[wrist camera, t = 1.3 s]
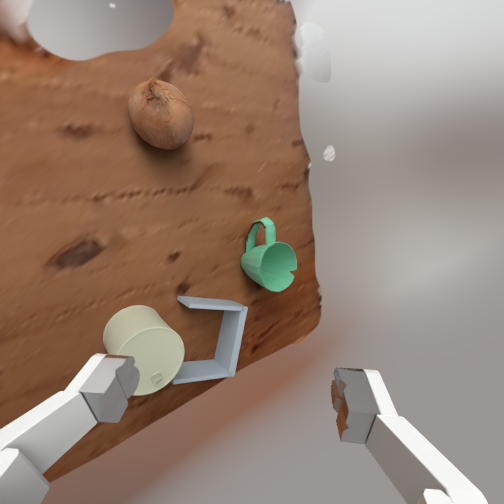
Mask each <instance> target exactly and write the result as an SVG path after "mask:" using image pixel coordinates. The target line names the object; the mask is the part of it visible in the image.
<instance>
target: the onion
mask: <svg viewBox="0 0 504 504" xmlns="http://www.w3.org/2000/svg"><path fill="white" fill-rule="evenodd" d="M149 79H150V78H149ZM128 112H129V117H130V120H131V123H132V125H133V127H134V129H135V130H136V132H137V133H138V134H139V135H140V137H141V138H143V139H144V140H145V141H146V142H148V143H149V144H151V145H153V146H155V147H158V148H162V149H176V148H178V146H180V145H183V144H184V143H185V142H186V141H187V140H188V138H189V137H190V135H191V133H192V130H193V124H194V118H193V113H192V110H191V106H190V105H189V103H188V101H187V99H186V98H185V97H184V95H183V94H182V93H181V92H180V91H179V90H178V89H177V88H176V87H174V86H173V85H171V84H169V83H166V82H164V81H160V80H154V78H151V79H150V80H149V81H146V82H143V83H141V84H139V85H138V86H137V87H136V88H135V89H134V90H133V92H132V94H131V96H130V99H129V104H128Z"/></svg>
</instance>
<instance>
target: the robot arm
mask: <svg viewBox="0 0 504 504" xmlns="http://www.w3.org/2000/svg"><path fill="white" fill-rule="evenodd" d="M135 362H136V361H135V359H134V357H133V356H124V355H111V354H98V353H96V354H95V355H93V356H92V357H91V358H90V359H89V361H88V362H87V363H86V364H85V366H84V367H83V368H82V369H81V371H80V372H79V373H78V374H77V376H76V377H75V378H74V379H73V380H72V382H71V383H70V384H69V385H68V387H67V388H66V389H65V390H64V391H60V392H58V393H57V394H55V395H53V396H52V397H50V398H49V399H47V400H46V401H44V402H42V403H41V404H39V405H38V406H36V407H35V408H33V409H32V410H30V411H28V412H27V413H25V414H24V415H22V416H21V417H19V418H18V419H16V420H14V421H13V422H11V423H10V424H8V425H7V426H5V427H4V428H2V429H0V504H40V503H41V501H42V500H43V498H44V496H45V495H46V493H47V492H48V490H49V488H50V483H49V482H48V481H47V480H46V479H45V478H44V477H43V475H42V474H43V473H44V472H45V471H46V470H47V469H48V468H49V467H50V466H52V465H53V464H54V463H55V462H56V461H57V460H58V459H59V458H60V457H61V456H62V455H63V454H65V453H66V452H67V451H68V450H69V449H70V448H71V447H72V446H73V445H74V444H75V443H76V442H77V441H79V440H80V439H81V438H82V437H83V436H84V435H85V434H86V433H87V432H88V431H89V430H90V429H91V428H93V427H94V426H95V425H96V424H97V422H114V423H119V421H120V419H121V417H122V415H123V413H124V412H125V410H126V408H127V406H128V400H127V399H128V398H129V397H130V396H132V395H133V394H134V393H135V391H136V389H137V387H138V383H139V379H140V373H139V370H138V368H136V367H135V366H134V364H135ZM334 377H335V380H333V381H332V385H331V397H332V403H333V408H334V409H335V410H336V412H337V413H338V415H337V420H336V422H337V427H338V432H339V436H340V441H342V442H350V443H359V444H366V445H365V446H366V447H367V449H368V450H369V452H370V453H371V454H372V456H373V457H374V458H375V460H376V461H377V463H378V464H379V465H380V466H381V468H382V470H383V471H384V472H385V474H386V475H387V476H388V478H389V479H390V481H391V482H392V483H393V485H394V486H395V488H396V489H397V490H398V492H399V493H400V494H401V496H402V497H403V499H404V500H405V501H406V503H407V504H488V503H487V501H486V499H485V497H484V496H483V494H482V493H481V491H479V490H478V489H477V488H476V487H475V486H474V485H473V484H472V483H471V482H470V481H469V480H468V479H467V478H466V477H465V476H464V475H463V474H462V473H461V472H460V471H459V470H458V469H456V468H455V466H453V464H452V463H450V462H449V461H448V460H447V459H446V458H445V457H444V456H443V455H442V454H441V453H440V452H439V451H438V450H437V449H436V448H435V447H434V446H433V445H432V444H431V443H430V442H429V441H428V440H427V439H426V438H424V437H423V436H422V435H421V434H420V433H419V432H418V431H417V430H416V429H415V428H414V427H413V426H412V425H411V424H410V423H409V422H408V421H407V420H406V419H405V418H403V417H402V416H398V414H397V412H396V410H395V407H394V405H393V403H392V401H391V398H390V396H389V394H388V391H387V389H386V387H385V385H384V382H383V380H382V378H381V375H380V373H379V372H378V371H377V370H364V369H352V368H336V369H335V370H334Z"/></svg>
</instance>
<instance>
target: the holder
mask: <svg viewBox="0 0 504 504" xmlns="http://www.w3.org/2000/svg"><path fill="white" fill-rule="evenodd" d="M177 300H178V301H180V302H181V303H183V304H184V305H186V306H187V307H189V308H198V309H216V310H224V313H223V318H222V323H221V328H220V333H219V338H218V343H217V348H216V353H215V357H214V359H213V360H202V361H190V362H183V363H182V365H181V368H180V369H179V371H178V373H177V374H176V376H175V377H174V378H173V379H172V380H171V382H172V384H180V383H187V382H195V381H202V380H209V379H216V378H223V377H230V376H234V375H235V370H236V365H237V360H238V355H239V350H240V345H241V339H242V334H243V329H244V324H245V319H246V314H247V309H248V307H246V306H243V305H241V304H239V303H237V302H234V301H232V300H221V299H209V298H198V297H186V296H178V298H177Z"/></svg>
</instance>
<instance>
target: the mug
mask: <svg viewBox="0 0 504 504" xmlns="http://www.w3.org/2000/svg"><path fill="white" fill-rule="evenodd" d="M261 224H262V225H263V226H264V230H265V245H261V246H257V247H255V239H256V233H257V231H258V229H259V227H260V225H261ZM241 267H242V269H243V270H244V271H245V272H246V274H247V275H248V276H249V277H250V278H251V279H252V280H254V281H255V282H257V283H258V284H260V285H261V286H263V287H264V288H266V289H268V290H269V291H274V292H279V291H282V290H284V289H286V288H287V287H288V286H289V285H290V284H291V282H292V281H293V279H294V275H293V274H291V273H290V271H295V270H296V268H297V259H296V256H295V252H294V251H293V249H292V248H291V247H290V246H289V245H288V244H287V243H284V242H276V239H275V227H274V223H273V222H272V221H271V220H270V219H269V218H267V217H266V218H263V219H260V220H257V221H254V222H253V223H252V225H251V227H250V230H249V232H248V234H247V240H246V253H244V255H243V256H242V258H241Z"/></svg>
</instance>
